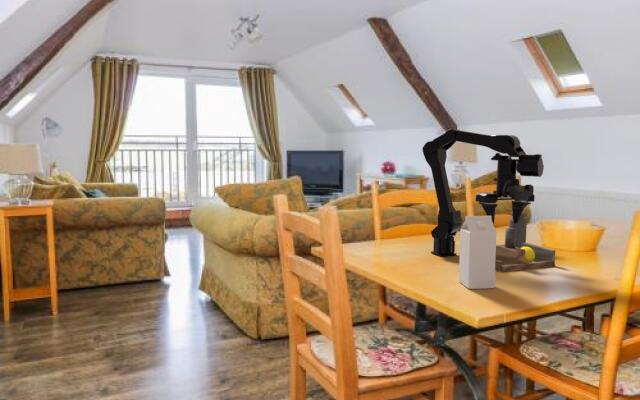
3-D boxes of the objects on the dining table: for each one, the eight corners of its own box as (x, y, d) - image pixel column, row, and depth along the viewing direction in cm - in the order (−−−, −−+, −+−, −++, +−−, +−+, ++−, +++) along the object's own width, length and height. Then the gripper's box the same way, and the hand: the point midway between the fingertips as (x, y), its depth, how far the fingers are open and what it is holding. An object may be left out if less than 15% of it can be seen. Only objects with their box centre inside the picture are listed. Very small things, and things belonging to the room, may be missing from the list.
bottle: (525, 248, 185) (526, 207, 183) (526, 251, 179) (527, 209, 177) (508, 247, 187) (509, 207, 185) (508, 250, 181) (510, 208, 179)
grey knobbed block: (514, 267, 155) (515, 231, 153) (494, 261, 163) (495, 226, 162) (524, 266, 156) (526, 230, 155) (504, 260, 164) (505, 226, 163)
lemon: (535, 267, 158) (536, 251, 157) (517, 266, 160) (518, 250, 158) (533, 259, 165) (534, 244, 163) (515, 258, 166) (516, 243, 165)
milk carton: (458, 282, 139) (460, 214, 137) (483, 281, 140) (485, 214, 138) (468, 289, 132) (470, 218, 130) (494, 288, 133) (497, 217, 131)
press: (500, 271, 150) (500, 255, 150) (472, 262, 162) (473, 247, 162) (554, 265, 158) (555, 250, 157) (524, 257, 170) (525, 242, 169)
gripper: (499, 177, 147) (496, 230, 149) (549, 176, 154) (546, 226, 156) (475, 175, 158) (473, 224, 160) (523, 174, 164) (520, 221, 166)
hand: (503, 224), depth 160 cm, fingers open, 9 cm apart
